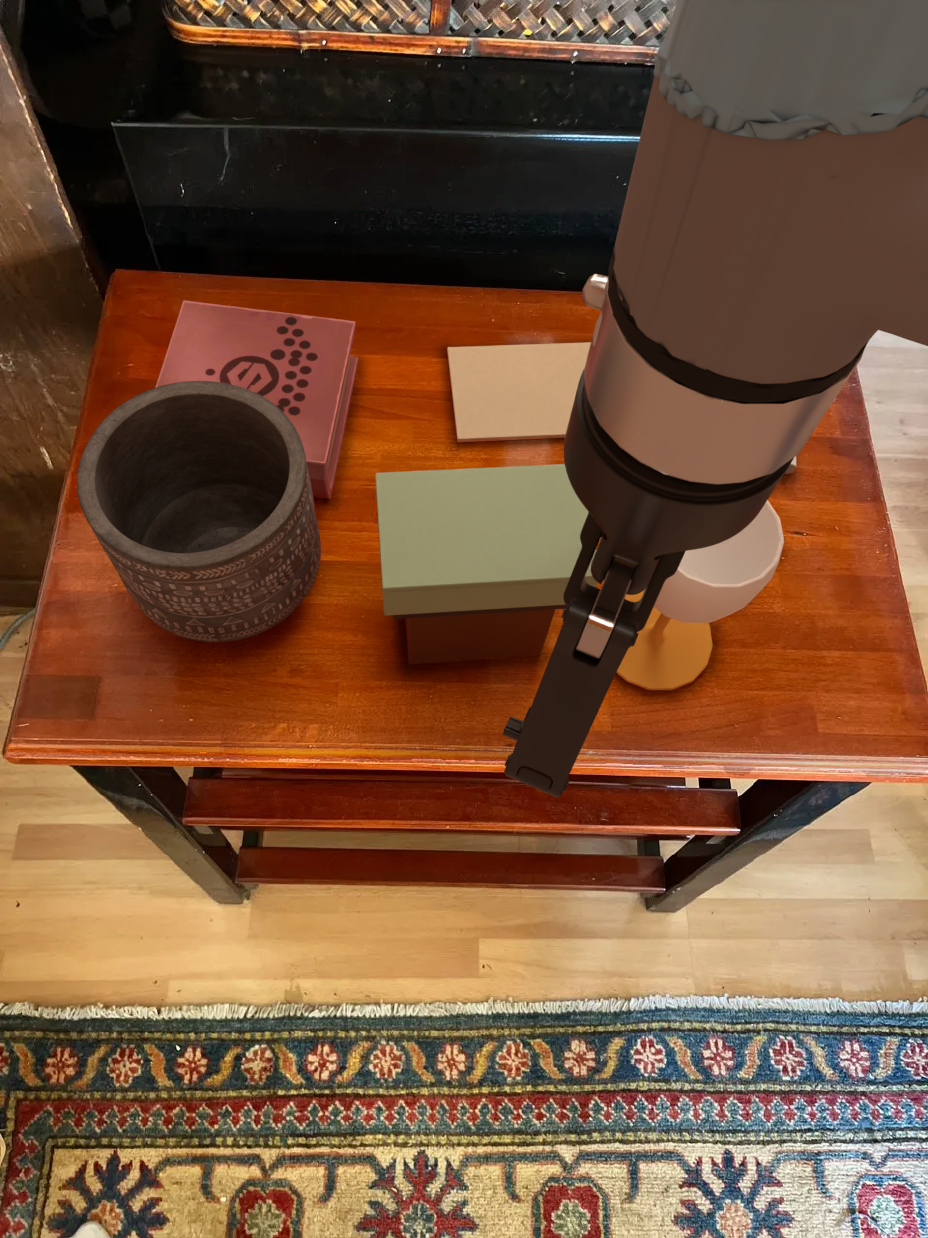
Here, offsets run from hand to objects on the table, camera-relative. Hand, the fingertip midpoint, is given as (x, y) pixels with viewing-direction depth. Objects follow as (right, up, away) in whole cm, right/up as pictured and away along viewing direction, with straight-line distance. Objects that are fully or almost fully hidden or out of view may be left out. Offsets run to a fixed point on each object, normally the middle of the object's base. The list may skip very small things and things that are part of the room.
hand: (581, 655), depth 49 cm
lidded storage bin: (-6, +2, +21) cm, 22 cm away
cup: (+8, +1, +22) cm, 23 cm away
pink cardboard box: (-24, +19, +29) cm, 41 cm away
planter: (-24, +5, +22) cm, 33 cm away
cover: (-5, +6, +11) cm, 14 cm away
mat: (0, +22, +31) cm, 38 cm away
